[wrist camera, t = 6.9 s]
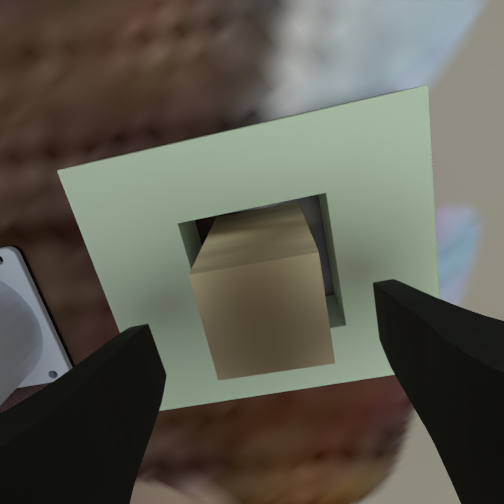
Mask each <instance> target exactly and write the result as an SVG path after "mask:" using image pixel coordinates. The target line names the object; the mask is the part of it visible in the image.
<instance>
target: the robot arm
mask: <svg viewBox="0 0 504 504" xmlns="http://www.w3.org/2000/svg"><path fill="white" fill-rule="evenodd" d="M0 256H1V257H2V259H3V262H2V261H0V406H1V404H2V403H3V402H4V401H5V400H6V399H7V398H8V397H9V396H10V395H11V393H12V392H13V391H14V390H15V389H16V388H20V387H26V386H32V385H38V384H44V383H50V382H52V383H51V384H49V385H48V386H46V387H44V388H43V389H41V390H40V391H38V392H37V393H35V394H33V395H32V396H30V397H28V398H27V399H25V400H23V401H22V402H20V403H18V404H17V405H15V406H13V407H12V408H10V409H8V410H6V411H4V412H2V413H0V504H129V503H130V499H131V495H132V491H133V487H134V483H135V480H136V477H137V474H138V470H139V467H140V465H141V462H142V459H143V456H144V453H145V450H146V447H147V444H148V442H149V439H150V436H151V433H152V430H153V427H154V424H155V421H156V418H157V415H158V413H159V409H160V406H161V403H162V398H163V394H164V388H165V382H166V376H167V375H166V372H165V369H164V366H163V363H162V361H161V358H160V355H159V352H158V349H157V347H156V344H155V341H154V338H153V335H152V333H151V330H150V327H149V324H144V325H138V326H133V327H130V328H128V329H126V330H124V331H123V332H121V333H120V334H118V335H117V336H115V337H114V338H113V339H111V340H110V341H108V342H107V343H106V344H104V345H103V346H102V347H100V348H99V349H98V350H96V351H95V352H94V353H92V354H91V355H90V356H88V357H87V358H86V359H84V360H83V361H82V362H80V363H79V364H78V365H76V366H75V367H72V365H71V363H70V361H69V359H68V356H67V354H66V352H65V350H64V348H63V346H62V343H61V341H60V339H59V337H58V335H57V332H56V330H55V328H54V326H53V324H52V321H51V319H50V317H49V315H48V313H47V310H46V308H45V306H44V304H43V302H42V299H41V297H40V295H39V293H38V291H37V288H36V286H35V284H34V282H33V280H32V277H31V275H30V273H29V271H28V269H27V266H26V264H25V262H24V260H23V258H22V256H21V253H20V252H19V251H18V250H17V249H16V248H14V247H11V246H7V247H2V248H0ZM373 290H374V299H375V307H376V315H377V324H378V332H379V340H380V342H381V345H382V347H383V350H384V352H385V355H386V357H387V359H388V362H389V364H390V367H391V368H392V370H393V372H394V374H395V375H396V377H397V379H398V381H399V382H400V384H401V386H402V388H403V389H404V391H405V393H406V395H407V396H408V398H409V400H410V401H411V403H412V405H413V407H414V408H415V410H416V412H417V413H418V415H419V417H420V419H421V420H422V422H423V424H424V425H425V427H426V429H427V431H428V433H429V434H430V436H431V438H432V440H433V442H434V444H435V446H436V448H437V450H438V453H439V455H440V457H441V459H442V461H443V464H444V466H445V468H446V470H447V472H448V475H449V477H450V479H451V481H452V484H453V486H454V488H455V490H456V493H457V495H458V497H459V500H460V502H461V504H504V321H501V320H498V319H494V318H491V317H487V316H484V315H481V314H478V313H475V312H472V311H470V310H467V309H464V308H461V307H459V306H456V305H453V304H451V303H448V302H446V301H443V300H441V299H438V298H436V297H434V296H431V295H429V294H427V293H425V292H422V291H420V290H418V289H416V288H414V287H411V286H409V285H407V284H405V283H402V282H400V281H397V280H395V279H390V280H384V281H379V282H374V283H373ZM53 371H55V372H56V373H57V374H55V373H54V372H53Z"/></svg>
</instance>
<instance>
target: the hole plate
mask: <svg viewBox="0 0 504 504" xmlns="http://www.w3.org/2000/svg"><path fill="white" fill-rule="evenodd" d="M57 172H58V175H59V177H60V180H61V182H62V185H63V187H64V190H65V193H66V195H67V198H68V200H69V203H70V205H71V208H72V211H73V213H74V216H75V218H76V221H77V223H78V226H79V229H80V231H81V234H82V236H83V239H84V241H85V244H86V247H87V249H88V252H89V254H90V257H91V259H92V262H93V265H94V267H95V270H96V272H97V275H98V277H99V280H100V283H101V285H102V288H103V290H104V293H105V295H106V298H107V300H108V303H109V306H110V308H111V311H112V313H113V316H114V318H115V321H116V324H117V326H118V329H119V331H120V333H121V332H123V331H124V330H126V329H128V328H130V327H133V326H138V325H144V324H149V327H150V330H151V333H152V335H153V338H154V341H155V344H156V347H157V349H158V352H159V355H160V358H161V361H162V363H163V366H164V369H165V372H166V375H167V376H166V382H165V388H164V394H163V398H162V403H161V406H160V409H159V411H162V410H168V409H174V408H181V407H187V406H194V405H200V404H207V403H213V402H220V401H226V400H233V399H239V398H246V397H252V396H259V395H265V394H272V393H278V392H285V391H291V390H298V389H304V388H310V387H317V386H323V385H330V384H336V383H343V382H349V381H356V380H362V379H369V378H375V377H382V376H388V375H395V374H394V372H393V370H392V368H391V367H390V364H389V362H388V359H387V357H386V355H385V352H384V350H383V347H382V345H381V342H380V340H379V332H378V324H377V315H376V307H375V299H374V290H373V283H374V282H379V281H384V280H390V279H395V280H397V281H400V282H402V283H405V284H407V285H409V286H411V287H414V288H416V289H418V290H420V291H422V292H425V293H427V294H429V295H431V296H434V297H436V298H438V299H439V284H438V265H437V247H436V228H435V210H434V191H433V173H432V154H431V137H430V117H429V99H428V85H427V86H422V87H416V88H411V89H406V90H401V91H396V92H392V93H388V94H383V95H379V96H375V97H370V98H366V99H362V100H357V101H353V102H349V103H344V104H340V105H336V106H331V107H327V108H323V109H318V110H314V111H310V112H305V113H301V114H297V115H292V116H288V117H284V118H279V119H275V120H271V121H266V122H262V123H258V124H253V125H249V126H245V127H240V128H236V129H231V130H227V131H223V132H218V133H214V134H210V135H205V136H201V137H197V138H192V139H188V140H184V141H179V142H175V143H171V144H166V145H162V146H158V147H153V148H149V149H145V150H140V151H136V152H132V153H127V154H123V155H119V156H114V157H110V158H106V159H101V160H97V161H93V162H89V163H85V164H81V165H77V166H73V167H69V168H66V169H62V170H58V171H57ZM313 195H318V197H319V203H320V209H321V215H322V222H323V228H324V234H325V240H326V247H327V253H328V259H329V266H330V272H331V278H332V284H333V291H334V295H330V296H325V297H326V304H327V310H328V317H329V324H330V330H331V337H332V344H333V350H334V357H335V364H329V365H322V366H315V367H308V368H301V369H294V370H288V371H281V372H274V373H267V374H260V375H254V376H247V377H240V378H233V379H226V380H219V381H218V378H217V374H216V371H215V367H214V363H213V360H212V356H211V353H210V349H209V346H208V342H207V339H206V335H205V332H204V328H203V325H202V321H201V317H200V314H199V310H198V307H197V303H196V300H195V296H194V293H193V289H192V286H191V282H190V279H189V273H190V271H191V269H192V267H193V265H194V263H195V261H196V259H197V256H198V254H199V252H200V250H201V248H202V243H201V240H200V236H199V233H198V229H197V225H196V222H195V220H197V219H202V218H207V217H211V216H216V215H221V214H226V213H231V212H236V211H240V210H245V209H250V208H255V207H260V206H265V205H269V204H274V203H279V202H284V201H289V200H293V199H298V198H303V197H308V196H313Z"/></svg>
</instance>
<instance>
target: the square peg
mask: <svg viewBox="0 0 504 504" xmlns="http://www.w3.org/2000/svg"><path fill="white" fill-rule="evenodd" d="M189 279H190V282H191V286H192V289H193V293H194V296H195V300H196V303H197V307H198V310H199V314H200V317H201V321H202V325H203V328H204V332H205V335H206V339H207V342H208V346H209V349H210V353H211V356H212V360H213V363H214V367H215V371H216V374H217V378H218V381H219V380H226V379H233V378H240V377H247V376H254V375H260V374H267V373H274V372H281V371H288V370H294V369H301V368H308V367H315V366H322V365H329V364H335V357H334V350H333V344H332V337H331V330H330V324H329V317H328V310H327V304H326V297H325V290H324V284H323V277H322V271H321V264H320V257H319V252H318V249H317V247H316V244H315V242H314V239H313V237H312V234H311V232H310V229H309V227H308V224H307V222H306V219H305V217H304V214H303V212H302V209H301V207H300V204H299V202H293V203H288V204H282V205H277V206H272V207H267V208H261V209H256V210H251V211H246V212H240V213H235V214H230V215H225V216H219V217H216V219H215V221H214V223H213V225H212V227H211V229H210V231H209V233H208V235H207V238H206V240H205V242H204V244H203V246H202V248H201V250H200V252H199V254H198V256H197V259H196V261H195V263H194V265H193V267H192V269H191V271H190V273H189Z"/></svg>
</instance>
